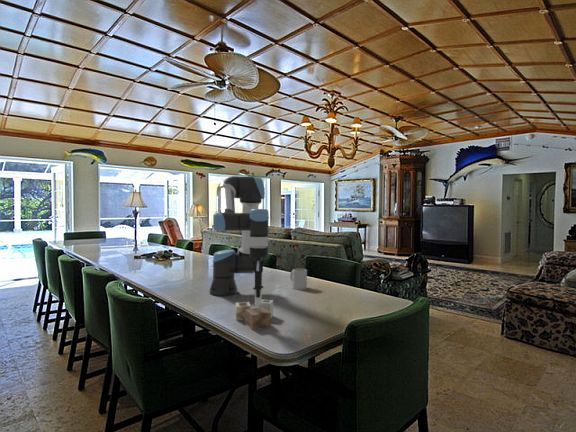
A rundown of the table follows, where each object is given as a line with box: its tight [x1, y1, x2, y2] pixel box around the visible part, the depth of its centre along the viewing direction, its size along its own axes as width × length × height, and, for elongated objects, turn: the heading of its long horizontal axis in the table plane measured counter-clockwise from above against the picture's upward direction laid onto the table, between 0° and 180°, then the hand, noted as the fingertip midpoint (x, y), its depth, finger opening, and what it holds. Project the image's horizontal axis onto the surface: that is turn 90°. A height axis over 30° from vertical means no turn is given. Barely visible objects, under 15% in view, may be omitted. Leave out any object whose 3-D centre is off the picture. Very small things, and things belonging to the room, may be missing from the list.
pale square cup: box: [258, 299, 274, 319], centre depth 150 cm, size 5×5×7 cm
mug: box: [289, 267, 308, 291], centre depth 204 cm, size 12×8×11 cm
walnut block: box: [244, 307, 272, 330], centre depth 140 cm, size 8×8×6 cm
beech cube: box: [235, 301, 252, 321], centre depth 148 cm, size 6×6×6 cm
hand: (258, 304), depth 139 cm, fingers closed
